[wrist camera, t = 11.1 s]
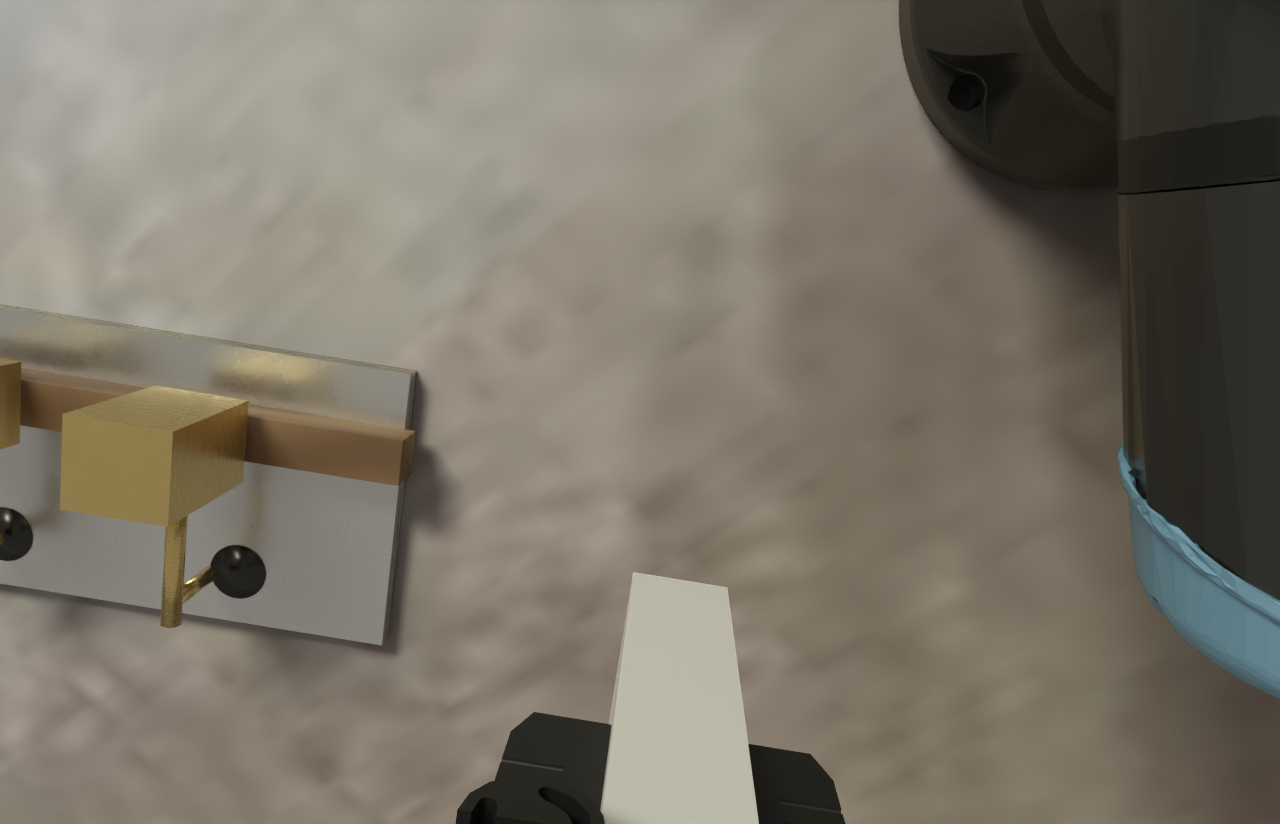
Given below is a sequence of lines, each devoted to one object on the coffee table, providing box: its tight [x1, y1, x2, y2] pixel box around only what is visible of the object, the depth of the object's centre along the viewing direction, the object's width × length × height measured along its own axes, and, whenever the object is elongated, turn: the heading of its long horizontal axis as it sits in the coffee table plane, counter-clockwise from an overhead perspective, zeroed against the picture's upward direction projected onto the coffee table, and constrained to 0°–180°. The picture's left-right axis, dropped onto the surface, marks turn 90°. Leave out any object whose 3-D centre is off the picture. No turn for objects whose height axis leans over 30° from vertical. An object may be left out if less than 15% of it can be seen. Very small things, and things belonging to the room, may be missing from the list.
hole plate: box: [0, 304, 417, 645], centre depth 43 cm, size 13×21×1 cm, turn 81°
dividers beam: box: [0, 358, 416, 545], centre depth 39 cm, size 10×21×8 cm, turn 81°
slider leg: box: [60, 386, 249, 628], centre depth 38 cm, size 10×4×8 cm, turn 171°
